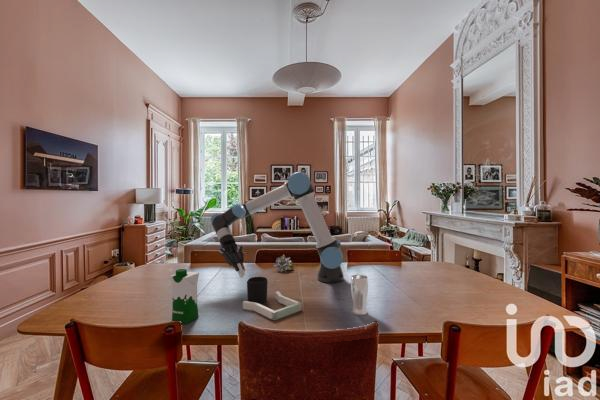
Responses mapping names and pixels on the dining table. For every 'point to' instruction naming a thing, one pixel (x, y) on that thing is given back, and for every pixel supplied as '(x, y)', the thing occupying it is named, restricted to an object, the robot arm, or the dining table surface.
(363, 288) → the beer glass
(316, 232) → the robot arm
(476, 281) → the dining table surface
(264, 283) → the pen holder
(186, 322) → the milk carton
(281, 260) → the grey spiky ball
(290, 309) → the bay
